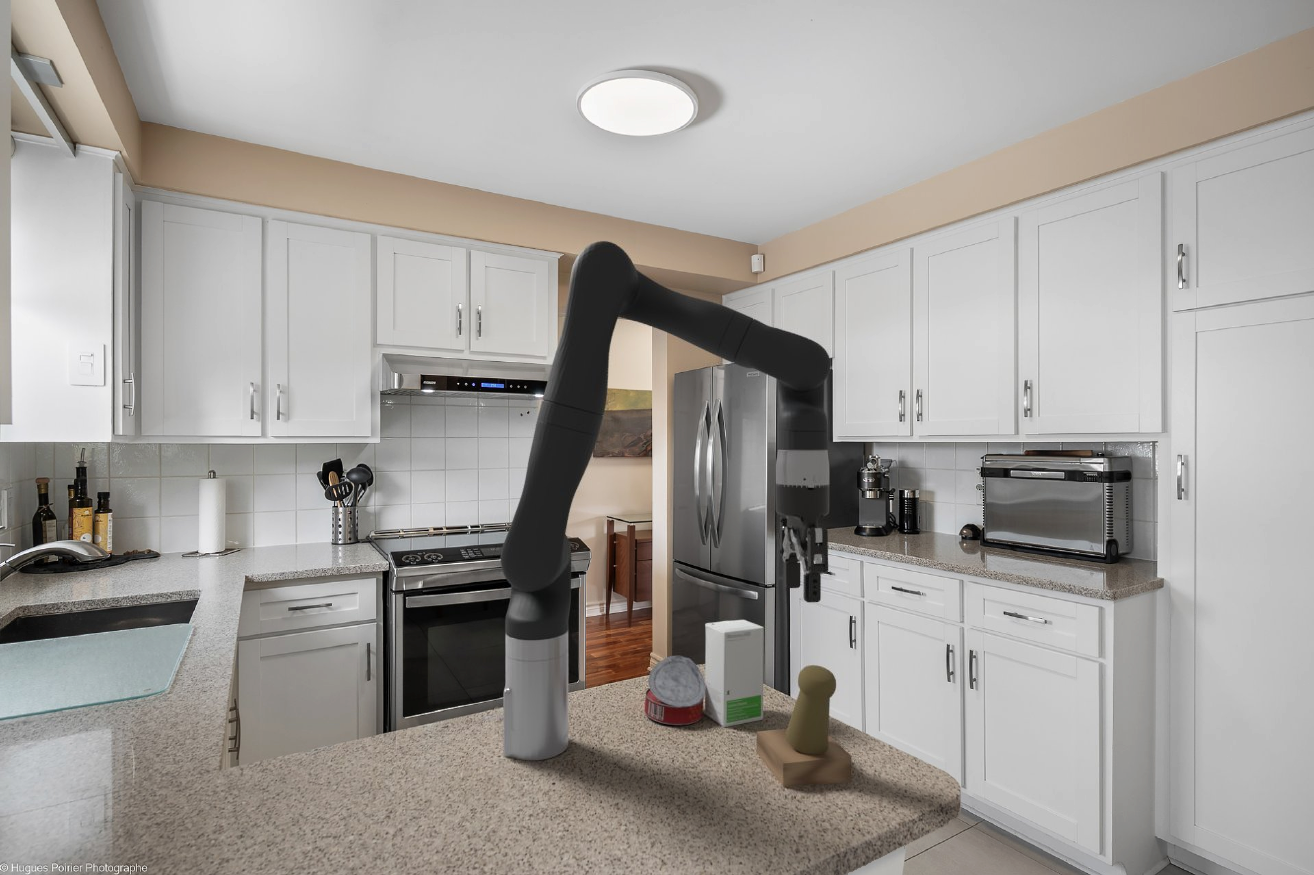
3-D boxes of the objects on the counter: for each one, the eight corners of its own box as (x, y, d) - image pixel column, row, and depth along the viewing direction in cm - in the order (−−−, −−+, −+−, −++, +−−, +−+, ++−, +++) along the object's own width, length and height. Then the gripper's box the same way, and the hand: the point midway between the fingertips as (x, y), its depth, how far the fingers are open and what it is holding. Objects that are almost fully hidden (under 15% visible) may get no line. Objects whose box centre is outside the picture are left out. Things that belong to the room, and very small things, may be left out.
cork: (831, 757, 92) (844, 686, 89) (787, 751, 92) (799, 680, 90) (824, 729, 98) (837, 662, 95) (783, 723, 98) (794, 656, 96)
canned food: (698, 735, 115) (728, 689, 114) (670, 750, 107) (702, 700, 105) (651, 689, 121) (679, 645, 119) (621, 700, 112) (651, 652, 111)
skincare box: (723, 729, 108) (723, 633, 108) (702, 714, 114) (702, 623, 114) (765, 719, 112) (765, 626, 112) (743, 705, 118) (743, 617, 118)
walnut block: (783, 793, 90) (783, 763, 90) (756, 758, 99) (756, 731, 99) (851, 785, 92) (851, 756, 92) (818, 751, 101) (818, 725, 101)
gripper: (763, 478, 103) (763, 584, 103) (792, 485, 88) (792, 607, 88) (810, 478, 103) (810, 583, 103) (847, 484, 89) (846, 606, 89)
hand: (801, 594), depth 96 cm, fingers open, 8 cm apart
